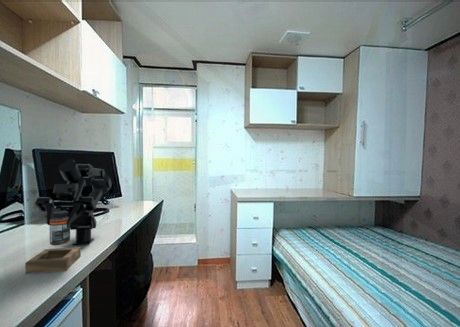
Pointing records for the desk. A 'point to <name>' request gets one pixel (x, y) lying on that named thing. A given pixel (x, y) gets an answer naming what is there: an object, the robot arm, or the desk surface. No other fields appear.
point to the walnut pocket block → (53, 260)
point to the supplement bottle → (59, 228)
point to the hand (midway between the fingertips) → (58, 224)
